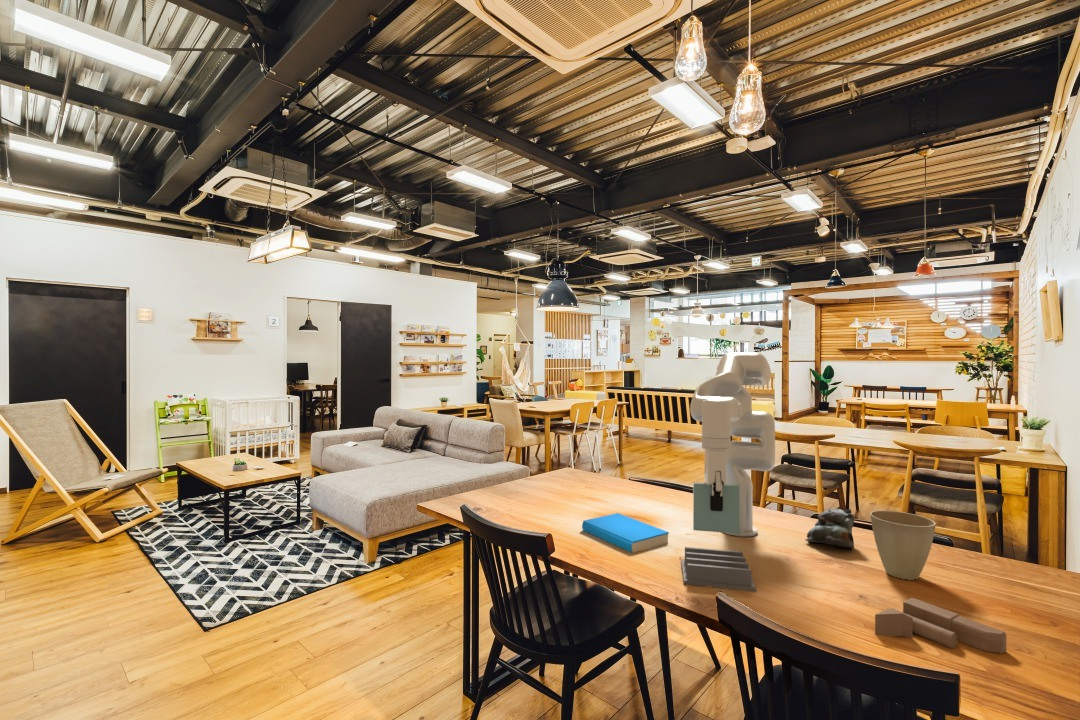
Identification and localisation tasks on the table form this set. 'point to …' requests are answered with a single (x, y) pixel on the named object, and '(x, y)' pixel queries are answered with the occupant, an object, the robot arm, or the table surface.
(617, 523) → the book
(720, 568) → the dish rack
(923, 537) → the plant pot
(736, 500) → the thin teal board
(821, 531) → the grey lumpy mound
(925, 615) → the wooden block set
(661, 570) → the table surface
